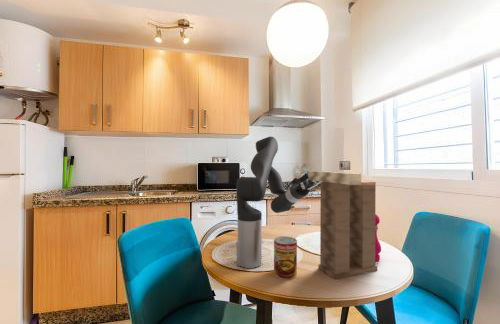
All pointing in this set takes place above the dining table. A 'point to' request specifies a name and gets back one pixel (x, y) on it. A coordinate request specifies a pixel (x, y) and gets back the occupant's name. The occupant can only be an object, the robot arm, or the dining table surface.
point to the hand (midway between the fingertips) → (316, 175)
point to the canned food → (285, 257)
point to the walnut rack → (347, 229)
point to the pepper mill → (377, 244)
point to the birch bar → (335, 177)
